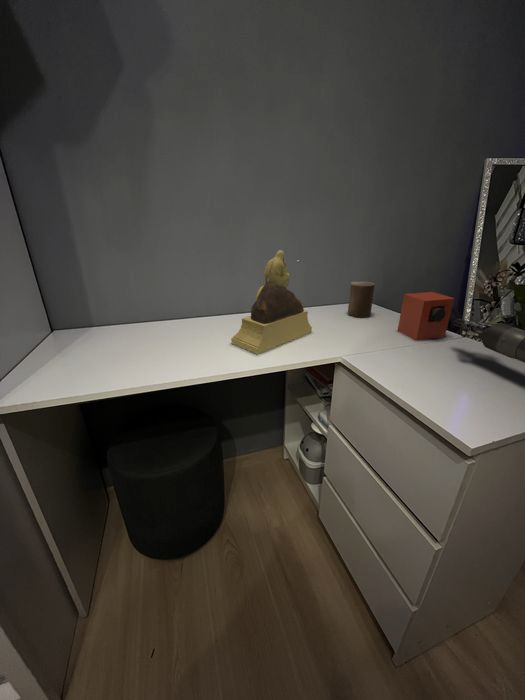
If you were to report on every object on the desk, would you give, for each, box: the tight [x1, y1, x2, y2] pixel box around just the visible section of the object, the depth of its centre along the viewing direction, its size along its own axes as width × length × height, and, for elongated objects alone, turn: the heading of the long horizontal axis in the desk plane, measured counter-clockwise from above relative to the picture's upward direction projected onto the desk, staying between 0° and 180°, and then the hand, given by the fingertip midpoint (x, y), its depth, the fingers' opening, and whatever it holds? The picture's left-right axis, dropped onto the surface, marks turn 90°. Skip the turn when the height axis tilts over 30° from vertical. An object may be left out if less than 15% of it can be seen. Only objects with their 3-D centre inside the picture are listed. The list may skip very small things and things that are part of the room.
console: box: [397, 291, 455, 341], centre depth 107 cm, size 10×12×14 cm
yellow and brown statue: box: [230, 249, 313, 355], centre depth 101 cm, size 28×13×30 cm, turn 134°
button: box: [430, 308, 446, 322], centre depth 101 cm, size 2×4×4 cm, turn 104°
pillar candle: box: [347, 280, 376, 319], centre depth 128 cm, size 10×10×15 cm
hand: (455, 321), depth 94 cm, fingers closed
